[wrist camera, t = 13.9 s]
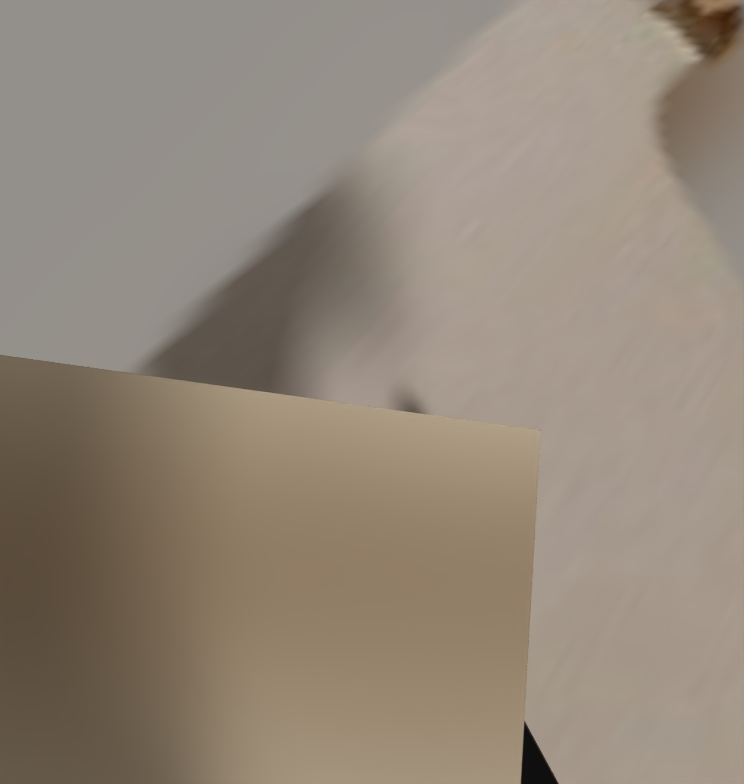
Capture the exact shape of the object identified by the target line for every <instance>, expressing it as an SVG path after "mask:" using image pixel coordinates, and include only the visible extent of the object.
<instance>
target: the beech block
mask: <svg viewBox="0 0 744 784" xmlns="http://www.w3.org/2000/svg"><path fill="white" fill-rule="evenodd" d="M540 434H541V430H535V429H527V428H520V427H513V426H506V425H499V424H491V423H484V422H477V421H470V420H463V419H456V418H448V417H441V416H434V415H427V414H420V413H413V412H405V411H398V410H391V409H384V408H377V407H370V406H362V405H355V404H348V403H341V402H334V401H326V400H319V399H312V398H305V397H298V396H291V395H283V394H276V393H269V392H262V391H255V390H248V389H240V388H233V387H226V386H219V385H212V384H205V383H197V382H190V381H183V380H176V379H169V378H161V377H154V376H147V375H140V374H133V373H126V372H118V371H111V370H104V369H97V368H90V367H83V366H75V365H68V364H60V363H54V362H47V361H39V360H32V359H25V358H18V357H10V356H3V355H0V784H521V769H522V751H523V734H524V716H525V699H526V681H527V663H528V646H529V628H530V610H531V593H532V575H533V557H534V540H535V522H536V504H537V487H538V469H539V451H540Z"/></svg>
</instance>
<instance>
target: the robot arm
mask: <svg viewBox="0 0 744 784" xmlns="http://www.w3.org/2000/svg"><path fill="white" fill-rule="evenodd" d="M521 784H558V782H557V780H556V778H555V776H554V774H553V772H552V771H551V769H550V767H549V765H548V763H547V761H546V760H545V758H544V756H543V754H542V752H541V750H540V749H539V747H538V745H537V743H536V741H535V739H534V737H533V736H532V734H531V732H530V730H529V728H528V726H527V725H526V723H525V721H524V734H523V751H522V769H521Z"/></svg>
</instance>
